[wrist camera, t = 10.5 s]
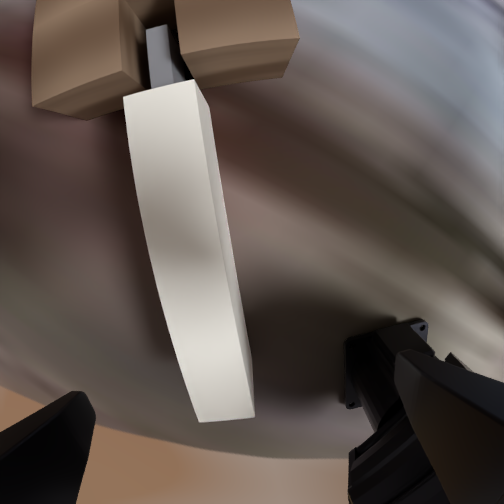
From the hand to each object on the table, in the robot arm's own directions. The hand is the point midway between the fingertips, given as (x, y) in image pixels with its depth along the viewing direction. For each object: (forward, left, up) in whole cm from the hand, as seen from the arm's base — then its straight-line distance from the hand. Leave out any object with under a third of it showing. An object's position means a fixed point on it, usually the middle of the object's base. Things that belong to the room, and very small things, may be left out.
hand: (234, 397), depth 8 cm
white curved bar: (+3, +2, -12) cm, 12 cm away
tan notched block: (+16, +2, -12) cm, 20 cm away
